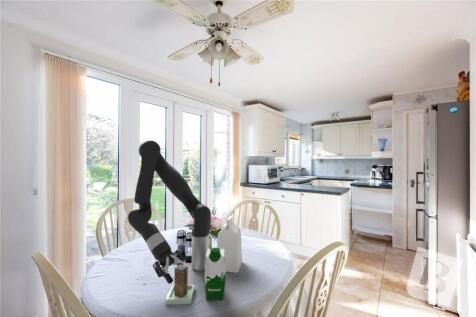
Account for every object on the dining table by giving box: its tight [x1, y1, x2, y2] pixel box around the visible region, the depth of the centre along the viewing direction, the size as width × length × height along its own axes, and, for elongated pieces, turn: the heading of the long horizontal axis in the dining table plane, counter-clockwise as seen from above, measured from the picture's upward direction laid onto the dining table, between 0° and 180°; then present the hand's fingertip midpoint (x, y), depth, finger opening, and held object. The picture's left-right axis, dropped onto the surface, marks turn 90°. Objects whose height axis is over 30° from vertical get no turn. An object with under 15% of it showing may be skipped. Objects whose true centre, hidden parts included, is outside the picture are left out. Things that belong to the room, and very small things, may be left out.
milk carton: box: [204, 247, 227, 301], centre depth 92 cm, size 9×9×20 cm
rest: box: [165, 284, 196, 305], centre depth 91 cm, size 10×10×2 cm
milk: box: [216, 216, 243, 274], centre depth 117 cm, size 12×12×26 cm
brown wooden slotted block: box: [174, 264, 189, 298], centre depth 91 cm, size 4×4×11 cm
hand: (178, 277), depth 92 cm, fingers open, 8 cm apart
